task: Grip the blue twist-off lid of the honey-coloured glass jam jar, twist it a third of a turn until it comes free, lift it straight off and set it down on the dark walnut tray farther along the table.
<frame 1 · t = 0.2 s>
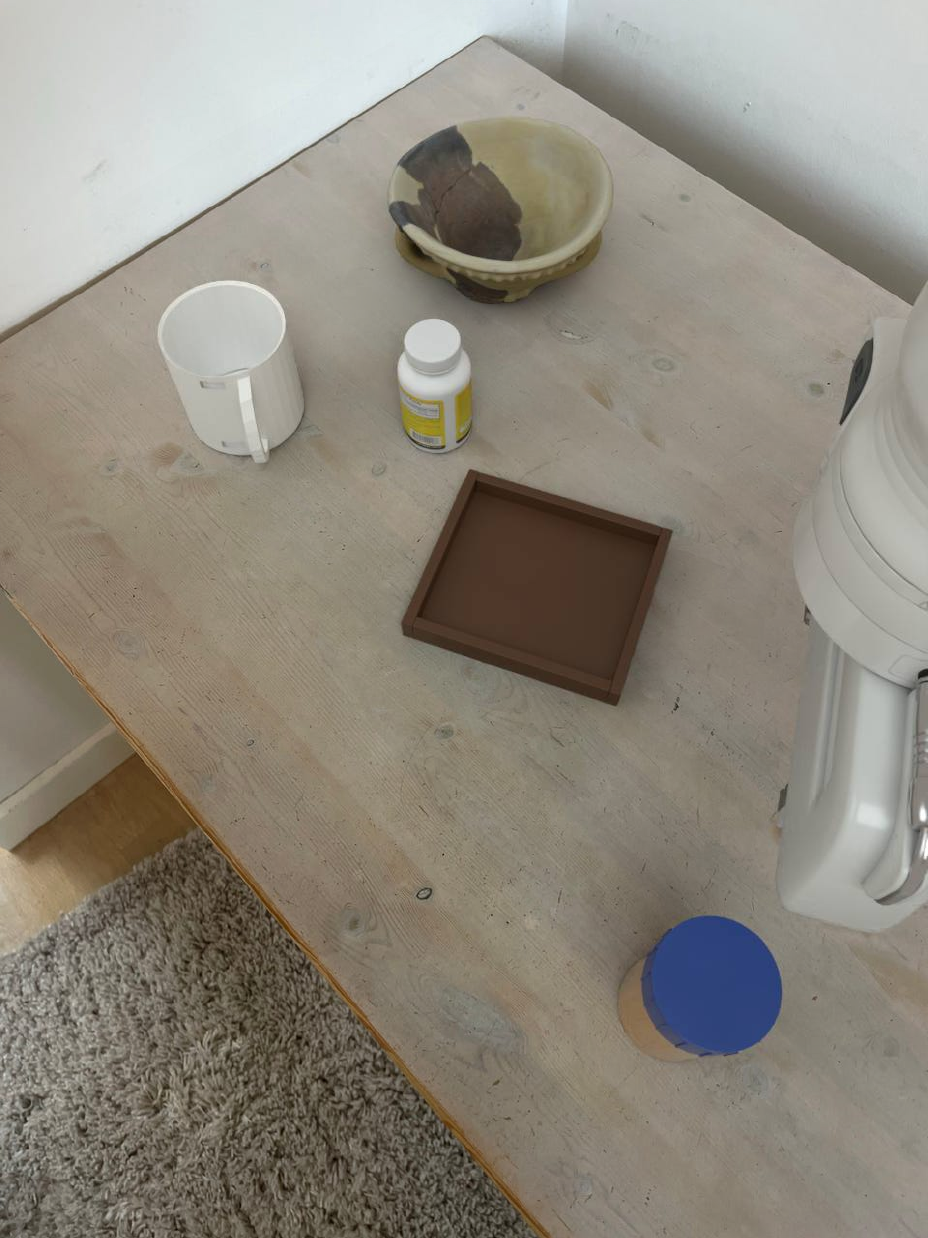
hand: (810, 710, 42), 23 cm above the table, tool pointing down, fingers open, 8 cm apart
jam lid: (715, 983, 47), point 12 cm above the table, screwed on, not yet turned
supplement bottle: (437, 428, 77), on the table
mug: (249, 427, 77), on the table
walnut tray: (538, 589, 70), on the table
jam jar: (668, 1006, 58), on the table
bowl: (496, 276, 84), on the table
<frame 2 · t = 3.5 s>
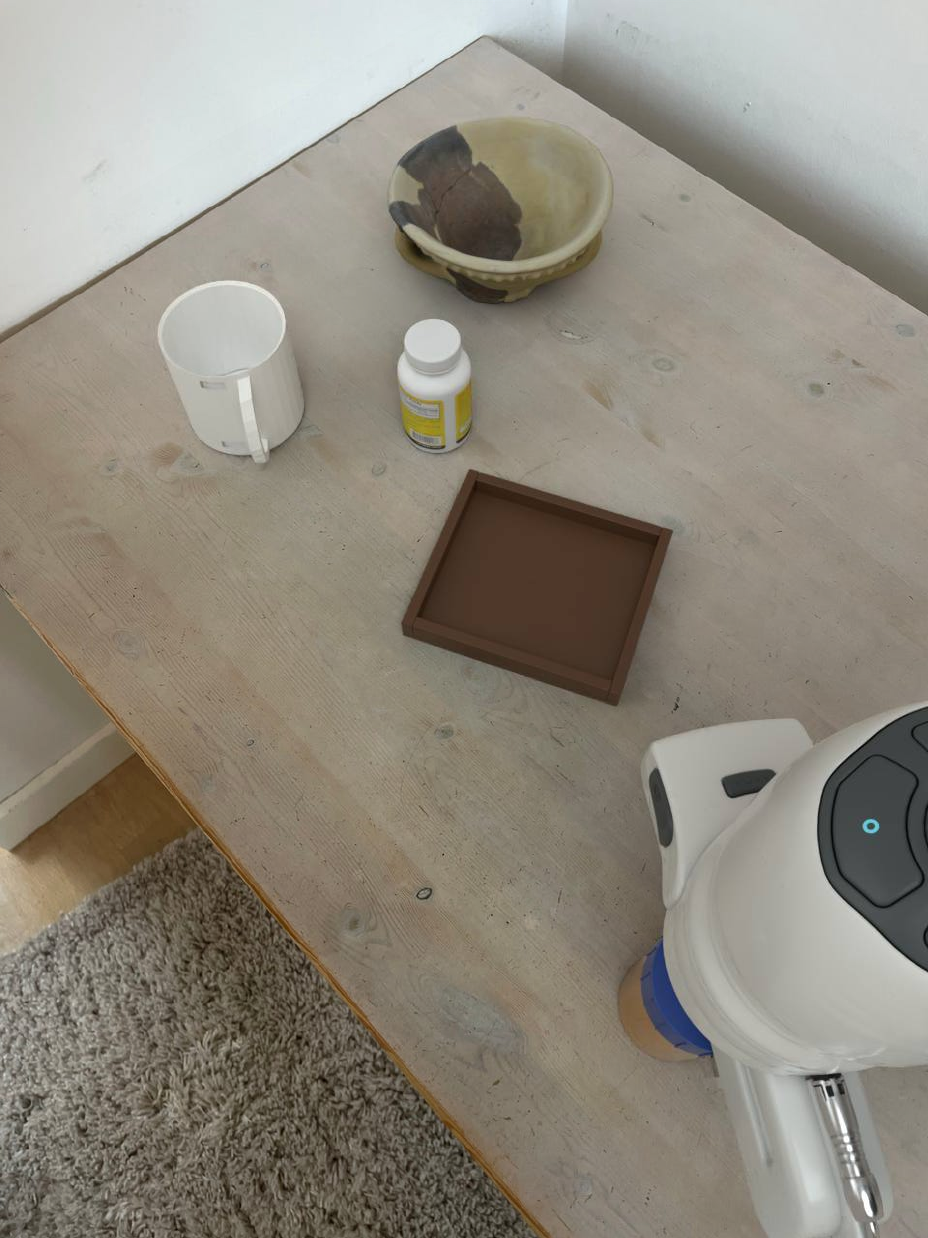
hand: (707, 985, 48), 11 cm above the table, tool pointing down, fingers closed on jam lid, 6 cm apart
jam lid: (714, 983, 47), point 12 cm above the table, screwed on, not yet turned, touching gripper
everything else where it was.
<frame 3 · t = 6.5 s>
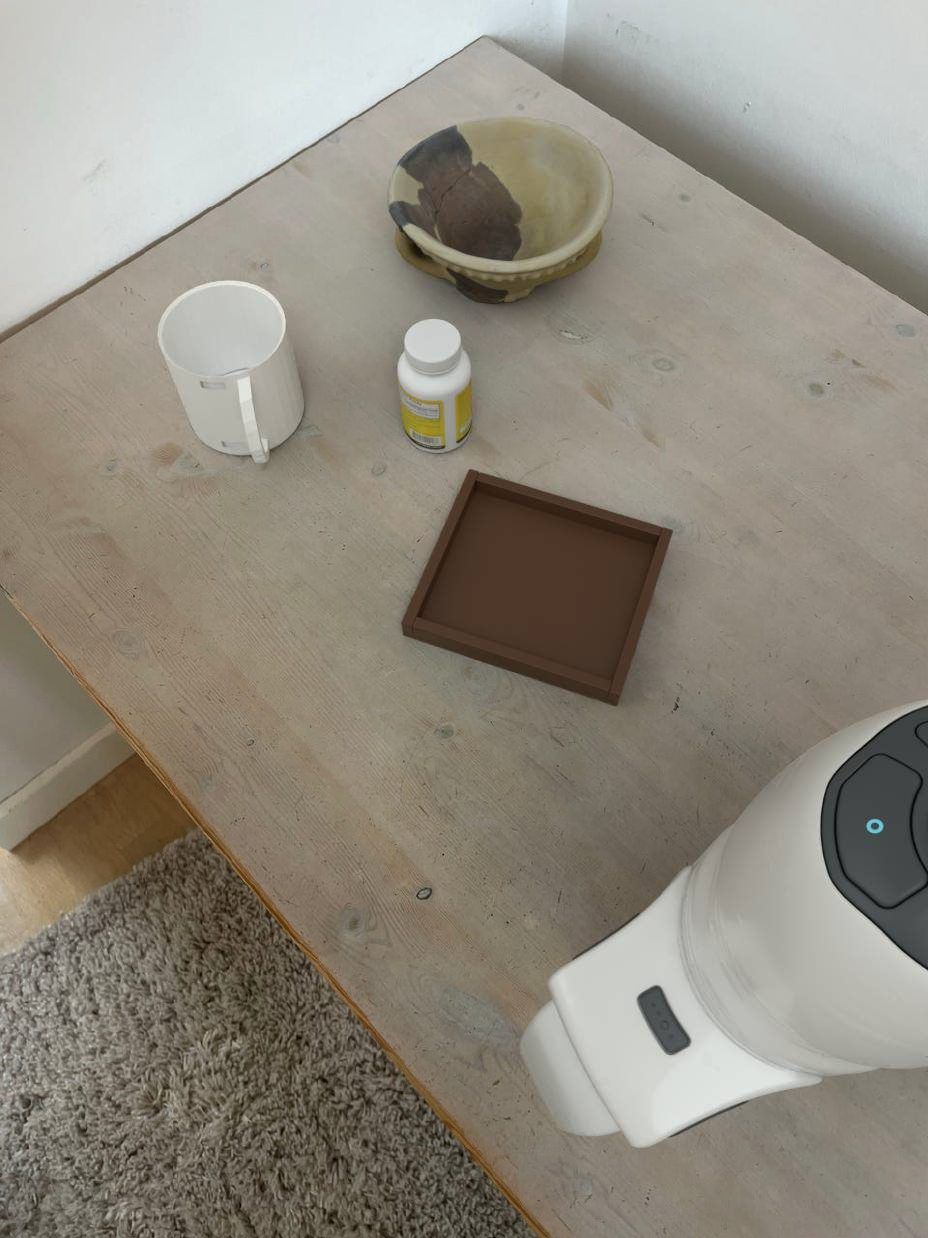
hand: (708, 986, 48), 11 cm above the table, tool pointing down, fingers closed on jam lid, 6 cm apart
jam lid: (715, 982, 47), point 12 cm above the table, turned 107° so far, risen 0.3 cm, still on its thread, touching gripper
everything else where it was.
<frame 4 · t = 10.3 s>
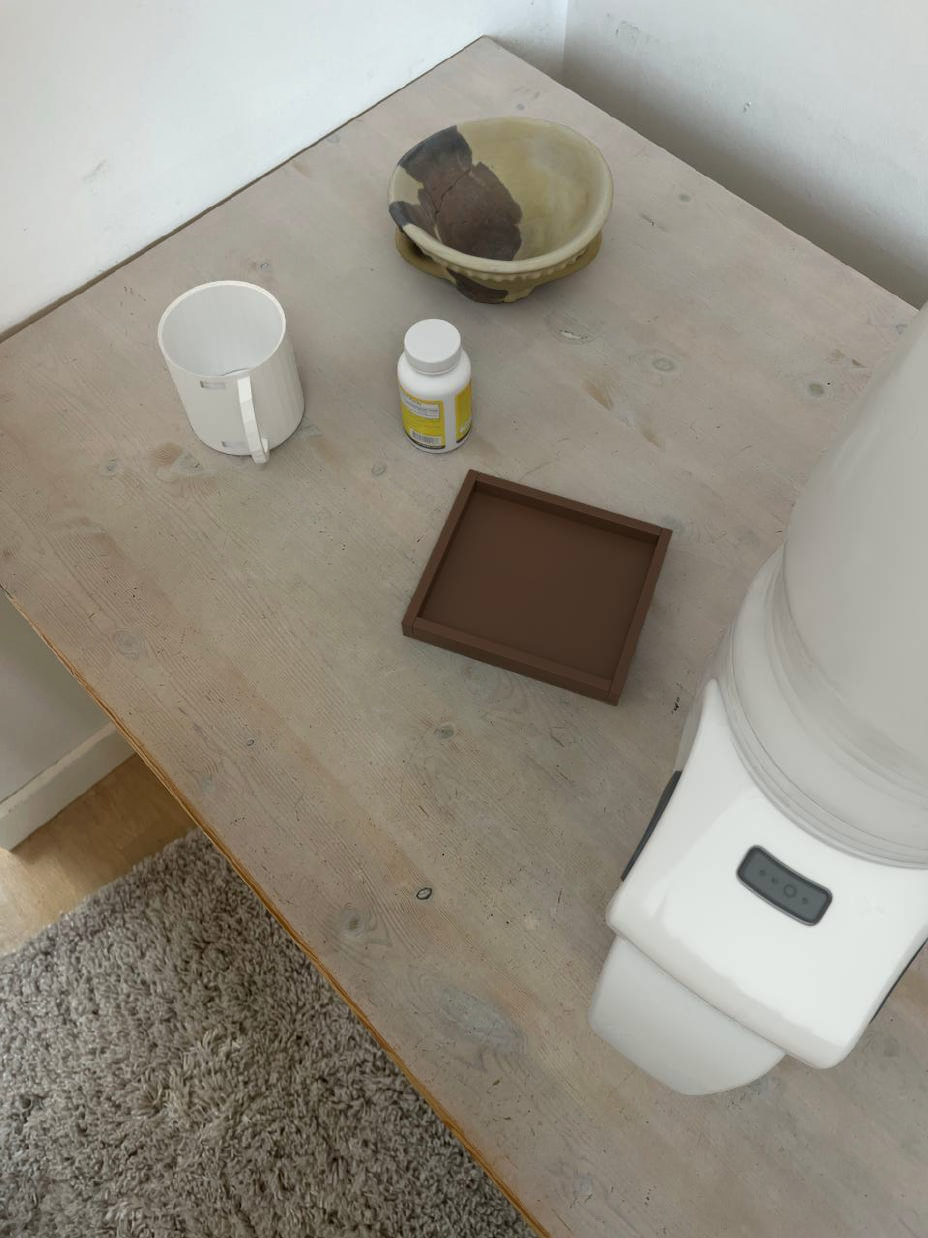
hand: (738, 840, 39), 23 cm above the table, tool pointing down, fingers closed on jam lid, 6 cm apart
jam lid: (747, 830, 38), point 25 cm above the table, off its thread, touching gripper
everything else where it was.
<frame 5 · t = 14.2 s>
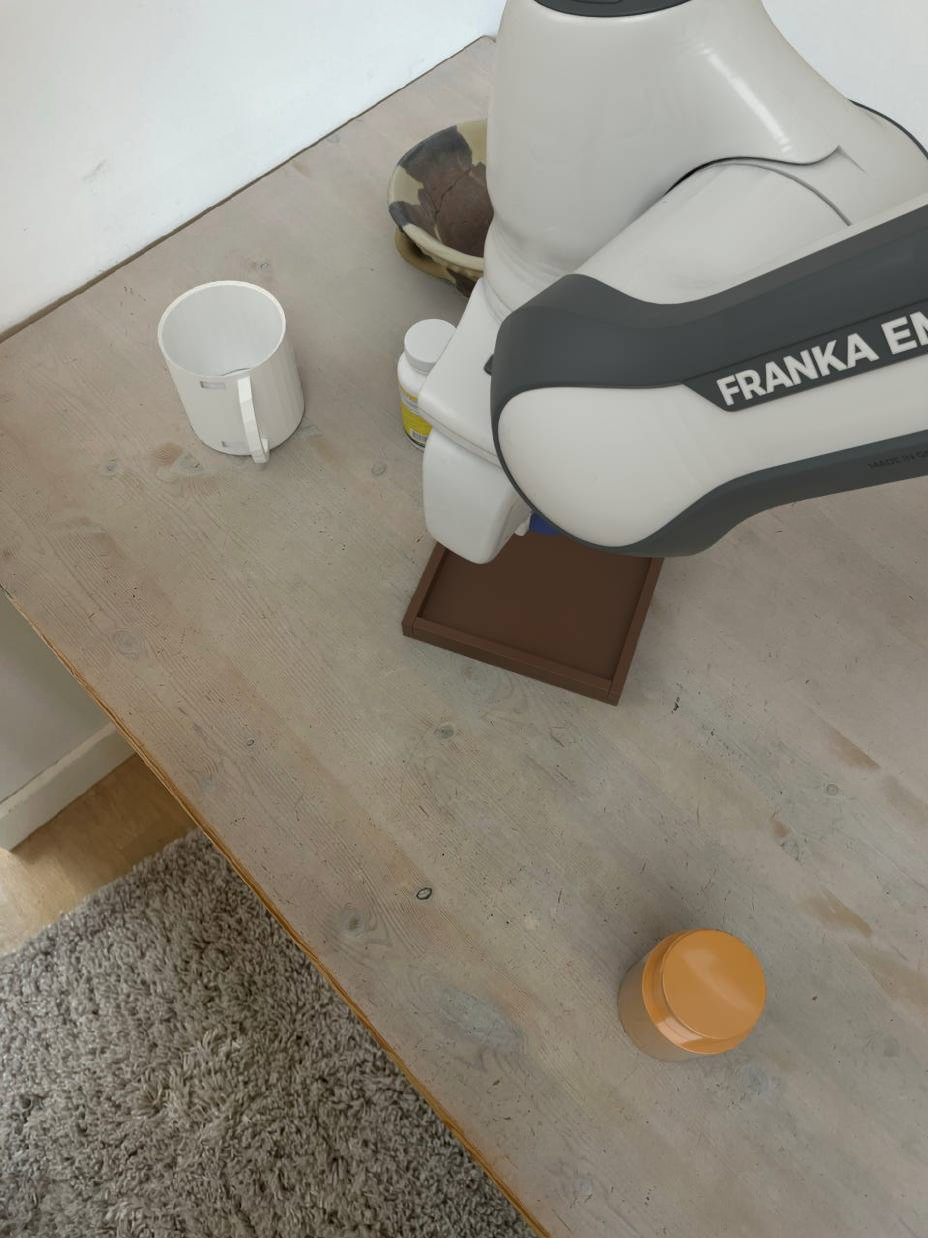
hand: (552, 478, 58), 14 cm above the table, tool pointing down, fingers closed on jam lid, 6 cm apart
jam lid: (553, 463, 57), point 15 cm above the table, off its thread, touching gripper
everything else where it was.
when the fingers open (2 cm above the table, at t = 17.4 s): jam lid stays where it is, resting on walnut tray.
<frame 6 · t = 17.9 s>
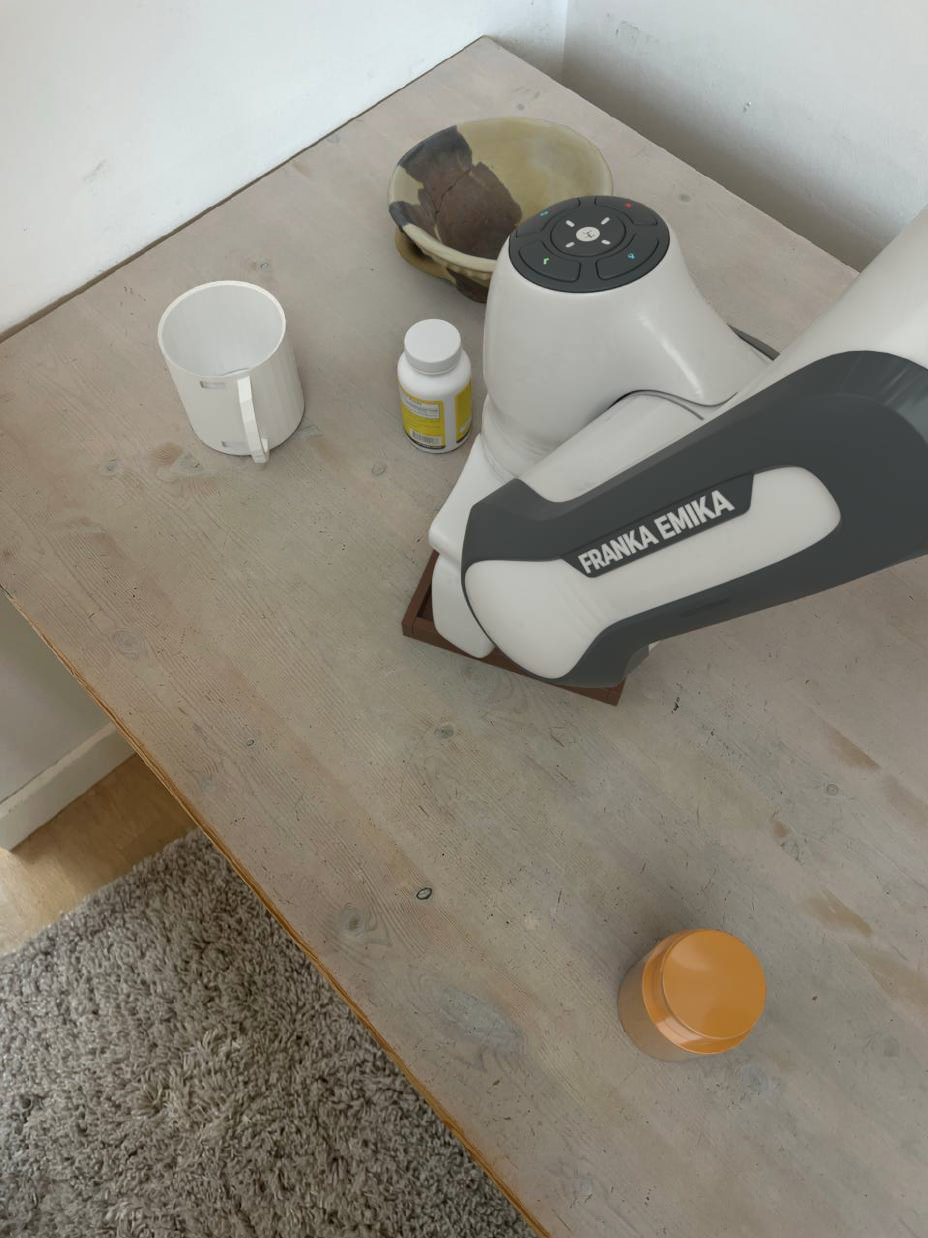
hand: (541, 573, 68), 2 cm above the table, tool pointing down, fingers open, 8 cm apart
jam lid: (540, 564, 67), point 3 cm above the table, off its thread, touching walnut tray
everything else where it was.
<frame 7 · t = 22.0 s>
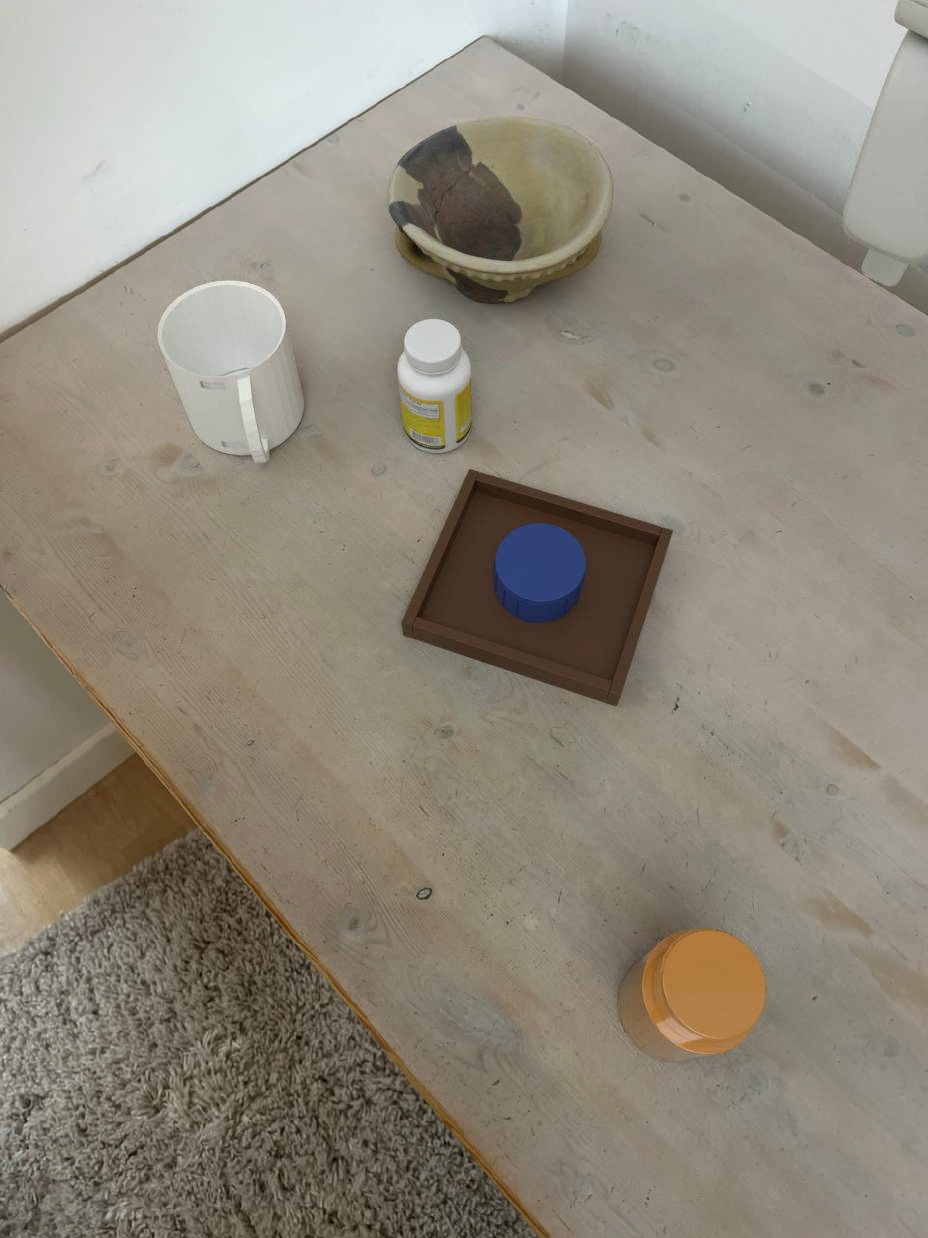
hand: (924, 212, 46), 29 cm above the table, tool pointing down, fingers open, 8 cm apart
nothing on the table moved.
at the end: jam lid came off its thread; jam lid inside the target area in the walnut tray (0.1 cm from its centre), point 3.5 cm above the walnut tray's base; the gripper is holding nothing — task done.
